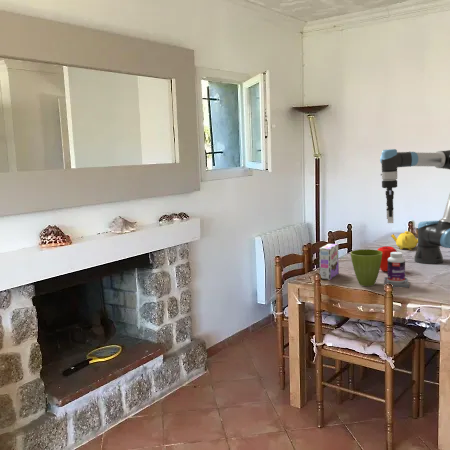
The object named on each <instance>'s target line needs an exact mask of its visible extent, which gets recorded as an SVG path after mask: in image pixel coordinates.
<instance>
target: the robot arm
mask: <svg viewBox="0 0 450 450" xmlns="http://www.w3.org/2000/svg"><path fill="white" fill-rule="evenodd" d="M379 161H380V164H381V173H380V176H381V187H382V188H383V189H386V190H385V198H386V219H387V224H394V195H395V191H394V190H393V189H395V188H397V187H398V180H397V179H398V168H406V167H407V168H409V167H434V168H436V169H445V170H450V149H448V150H438V151H436V152H416V151H398V150H397V149H395V148H392V149H391V148H390V149H389V148H388V149H383V150H382V151H381V155H380V157H379ZM417 239H418V243H417V249H416V251H415V254H414V258H413V259H414V260H413V261H414V262H415V263H419V264H428V265H431V264H432V265H434V264H442V263H443V262H444V257H443V253H442V251H441V247H443V248H445V249H447V248H448V249H450V193H449V194H448V199H447V201H446V204H445V209H444V212H443V216H442V218H440V219H439V220H425V221H420V222H418V224H417Z"/></svg>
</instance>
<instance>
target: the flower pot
mask: <svg viewBox="0 0 450 450" xmlns="http://www.w3.org/2000/svg"><path fill="white" fill-rule="evenodd" d="M350 258H351V263H352V267H353V271H354V274H355V277H356V280H357V282H358V285H360V286H362V287H372V286H374V285H376V283H377V282H376V281H377V280H378V276H379V274H380V270H381V269H380V265H381V259H382V252H381V251H378V249H377V250H376V249H369V248H368V249H355V250H351V251H350Z"/></svg>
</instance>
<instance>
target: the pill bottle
mask: <svg viewBox="0 0 450 450" xmlns="http://www.w3.org/2000/svg"><path fill="white" fill-rule="evenodd" d="M390 256H391V257H389V258H388V271H387V276H386V277H387V278H388V281H389V282H391V283H403V282H404V281H405V278H406V259H405V258H404V257H403V252H401V251H397V252H391V253H390Z"/></svg>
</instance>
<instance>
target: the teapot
mask: <svg viewBox="0 0 450 450" xmlns="http://www.w3.org/2000/svg"><path fill="white" fill-rule="evenodd" d="M390 237H391V238H392V240H394V242H395V244H396V246H397V247H398V248H399V250H403V249H407V250H408V251H411V250H413V249H414V248H415V247H417V246H418V238H416V236H415V235H414V234H413V233H412V232H411V231H409V230H404V232H402V233H400V234H399V235H398V236H397V237H396V235H395V234H391V235H390Z"/></svg>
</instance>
